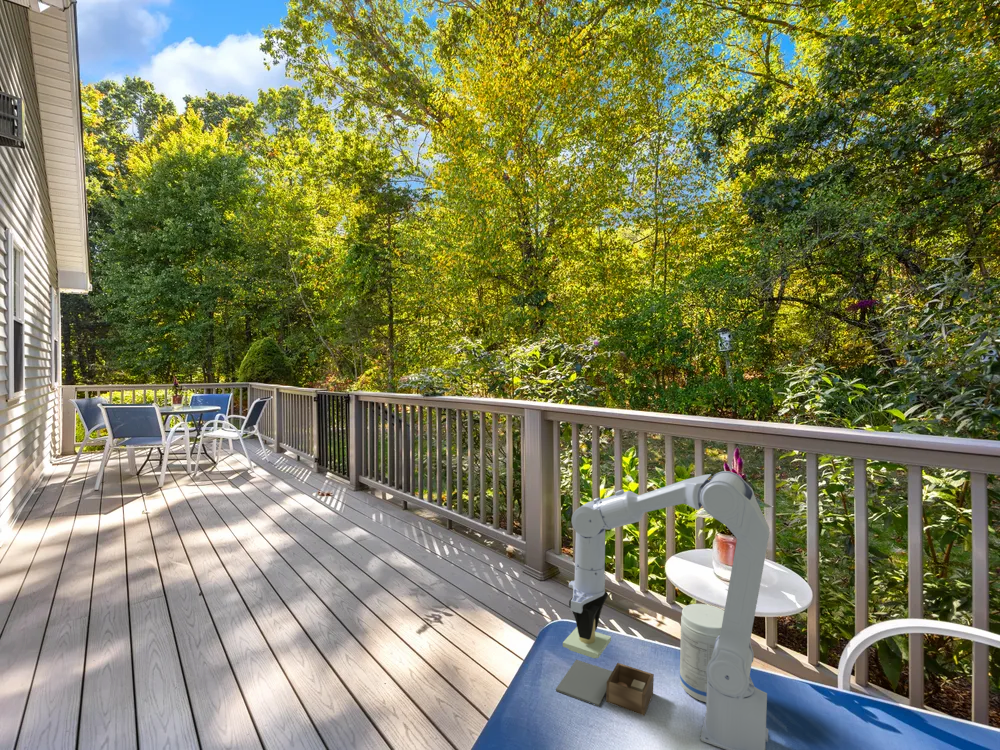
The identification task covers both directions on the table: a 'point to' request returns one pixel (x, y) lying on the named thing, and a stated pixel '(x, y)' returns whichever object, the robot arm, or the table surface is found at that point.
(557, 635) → the table surface
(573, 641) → the lid
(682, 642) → the supplement tub
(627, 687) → the box
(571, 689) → the mat
